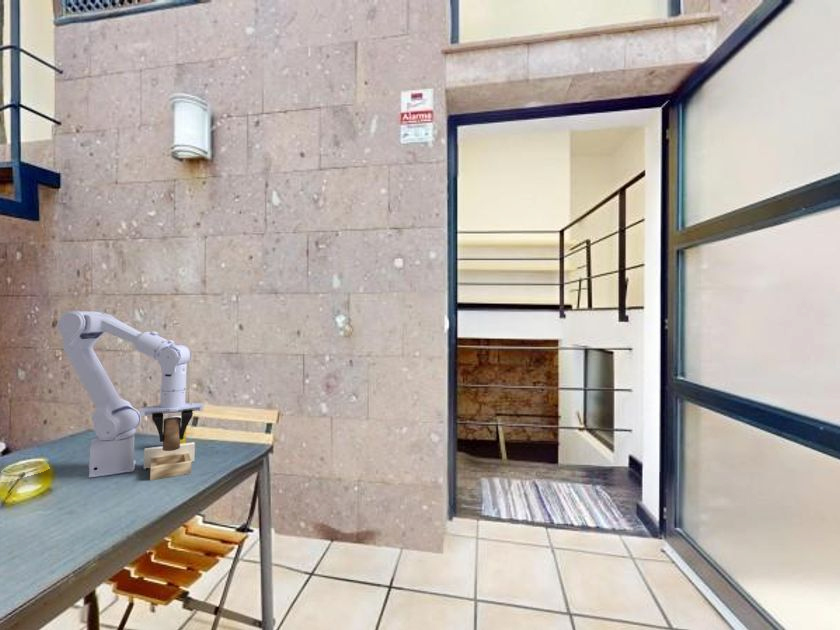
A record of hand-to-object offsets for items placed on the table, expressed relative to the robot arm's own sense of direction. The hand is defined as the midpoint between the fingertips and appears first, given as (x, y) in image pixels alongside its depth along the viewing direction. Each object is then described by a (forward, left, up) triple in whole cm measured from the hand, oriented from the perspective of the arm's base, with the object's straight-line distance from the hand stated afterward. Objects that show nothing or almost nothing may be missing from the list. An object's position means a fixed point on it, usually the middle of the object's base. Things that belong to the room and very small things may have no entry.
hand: (171, 439), depth 107 cm
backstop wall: (0, +6, -8) cm, 10 cm away
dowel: (0, 0, -2) cm, 2 cm away
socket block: (0, 0, -8) cm, 8 cm away
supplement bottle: (+2, +20, -9) cm, 21 cm away
